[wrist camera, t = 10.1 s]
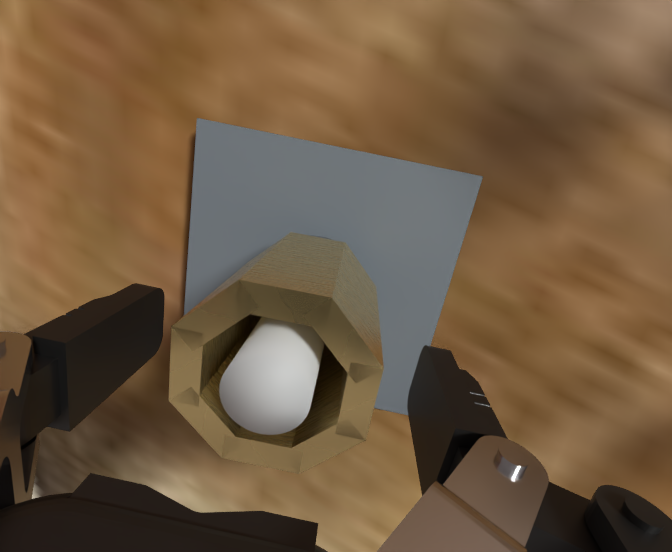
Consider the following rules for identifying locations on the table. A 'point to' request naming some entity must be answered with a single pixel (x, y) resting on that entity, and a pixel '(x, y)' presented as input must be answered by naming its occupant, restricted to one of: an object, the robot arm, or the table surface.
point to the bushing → (297, 307)
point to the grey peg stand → (330, 223)
